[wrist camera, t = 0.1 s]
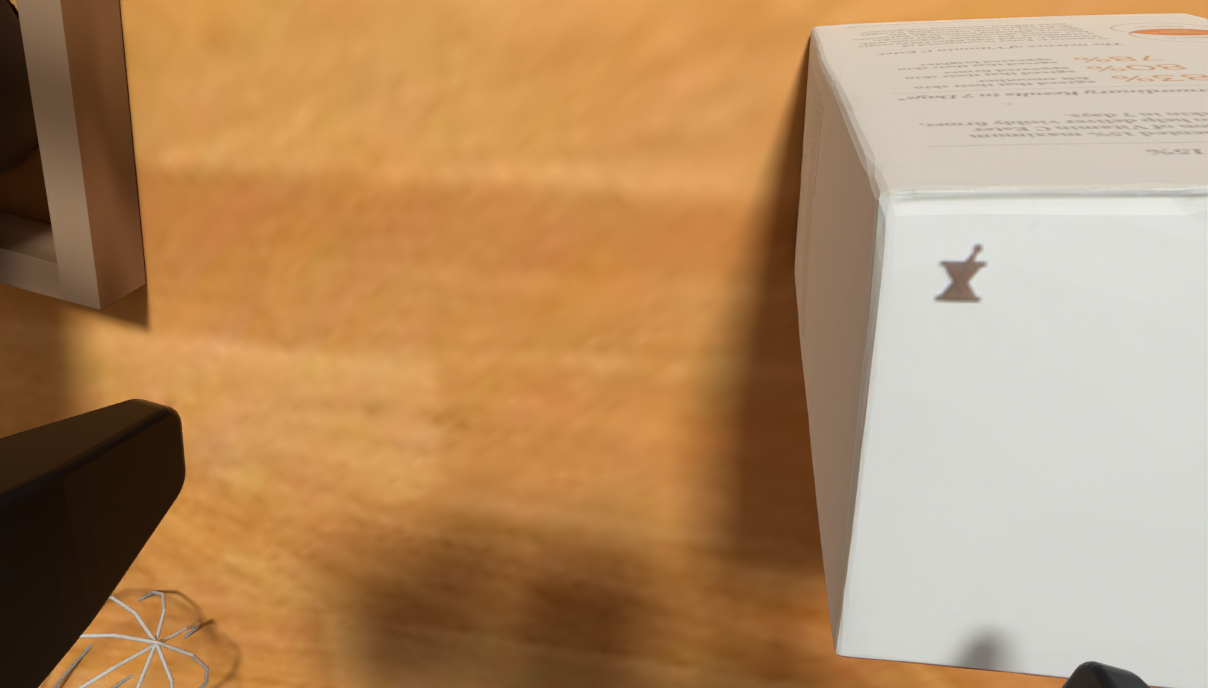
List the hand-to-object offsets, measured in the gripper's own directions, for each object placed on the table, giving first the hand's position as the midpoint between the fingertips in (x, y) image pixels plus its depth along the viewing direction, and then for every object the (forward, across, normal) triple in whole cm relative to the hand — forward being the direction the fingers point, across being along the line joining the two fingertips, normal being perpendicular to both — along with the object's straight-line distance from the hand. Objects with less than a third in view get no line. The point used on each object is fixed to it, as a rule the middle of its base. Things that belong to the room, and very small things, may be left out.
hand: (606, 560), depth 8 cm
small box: (+15, -6, -2) cm, 16 cm away
